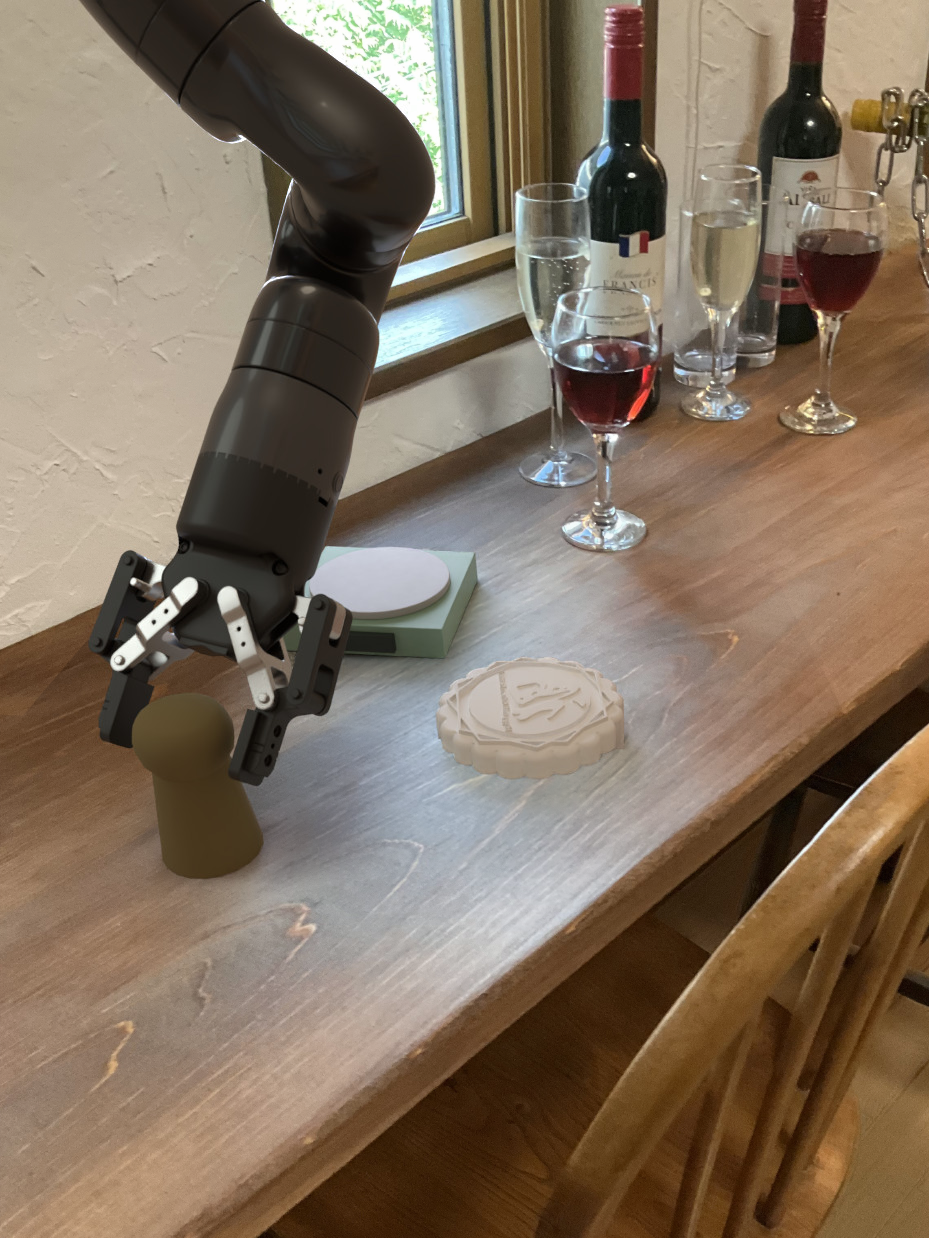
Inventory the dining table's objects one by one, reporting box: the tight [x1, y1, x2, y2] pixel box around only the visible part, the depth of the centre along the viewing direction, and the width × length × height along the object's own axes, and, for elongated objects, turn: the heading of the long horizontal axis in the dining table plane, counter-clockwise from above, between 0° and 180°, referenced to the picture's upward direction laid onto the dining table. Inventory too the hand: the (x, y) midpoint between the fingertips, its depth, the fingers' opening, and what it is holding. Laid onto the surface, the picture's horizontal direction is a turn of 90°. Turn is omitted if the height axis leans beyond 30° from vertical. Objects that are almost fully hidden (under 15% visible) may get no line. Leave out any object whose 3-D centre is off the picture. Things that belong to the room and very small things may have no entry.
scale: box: [283, 545, 479, 659], centre depth 95 cm, size 12×12×3 cm
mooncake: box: [435, 656, 625, 780], centre depth 82 cm, size 12×12×4 cm
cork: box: [132, 692, 265, 880], centre depth 70 cm, size 6×6×11 cm
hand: (178, 763), depth 68 cm, fingers open, 8 cm apart
